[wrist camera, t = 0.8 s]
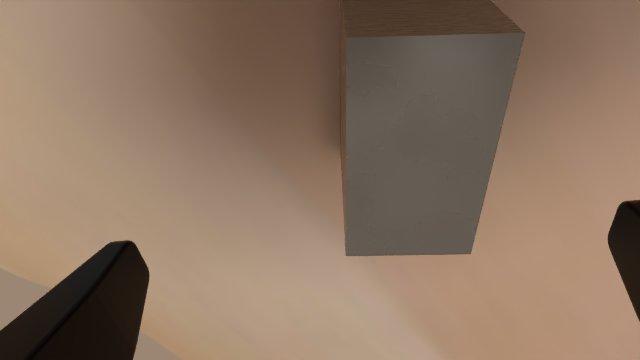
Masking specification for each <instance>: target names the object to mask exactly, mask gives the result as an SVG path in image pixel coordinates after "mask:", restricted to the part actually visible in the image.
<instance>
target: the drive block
mask: <svg viewBox="0 0 640 360" xmlns="http://www.w3.org/2000/svg"><path fill="white" fill-rule="evenodd" d="M524 34H525V32H524V31H523V30H521V29H520V28H519V27H518V26H517V25H516V24H515V23H514V22H513V21H512V20H511V19H510V18H509V17H508V16H506V15H505V14H504V13H503V12H502V11H501V10H500V9H499V8H498V7H497V6H496V5H495V4H494V3H493V2H491V1H490V0H340V146H341V171H342V191H343V211H344V230H345V250H346V256H383V255H446V254H471V251H472V247H473V243H474V239H475V234H476V230H477V226H478V222H479V218H480V214H481V210H482V206H483V202H484V198H485V194H486V189H487V185H488V181H489V177H490V173H491V169H492V165H493V161H494V157H495V153H496V149H497V144H498V140H499V136H500V132H501V128H502V124H503V120H504V116H505V112H506V108H507V103H508V99H509V95H510V91H511V87H512V83H513V79H514V75H515V71H516V67H517V63H518V58H519V54H520V50H521V46H522V42H523V38H524Z"/></svg>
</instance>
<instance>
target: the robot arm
mask: <svg viewBox="0 0 640 360" xmlns="http://www.w3.org/2000/svg"><path fill="white" fill-rule="evenodd" d="M608 245H609V248H610V251H611V253H612V256H613V258H614V261H615V263H616V266H617V268H618V271H619V273H620V275H621V278H622V280H623V283H624V285H625V288H626V290H627V293H628V295H629V297H630V300H631V302H632V305H633V307H634V310H635V312H636V314H637V317H638V319H639V321H640V200H632V201H625V202H622V203H621V204H620V205H619V207H618V209H617V212H616V214H615V217H614V220H613V223H612V225H611V228H610V231H609V234H608ZM148 284H149V270H148V267H147V265H146V263H145V261H144V259H143V257H142V256H141V254H140V252H139V250H138V248H137V246H136V245H135V243H134V242H132V241H129V240H126V241H114V242H110V243H108V244H107V245H106V246H104V247H103V248H102V249H101V250H100V251H98V252H97V253H96V254H95V255H93V256H92V257H91V258H90V259H88V260H87V261H86V262H85V263H83V264H82V265H81V266H80V267H78V268H77V269H76V270H75V271H74V272H72V273H71V274H70V275H69V276H67V277H66V278H65V279H64V280H62V281H61V282H60V283H59V284H57V285H56V286H55V287H54V288H53V289H51V290H50V291H49V292H48V293H46V294H45V295H44V296H43V297H41V298H40V299H39V300H38V301H36V302H35V303H34V304H33V305H32V306H30V307H29V308H28V309H27V310H25V311H24V312H23V313H22V314H20V315H19V316H18V317H17V318H15V319H14V320H13V321H12V322H10V323H9V324H8V325H7V326H5V327H4V328H3V329H2V330H0V360H133V357H134V353H135V349H136V344H137V341H138V335H139V330H140V325H141V320H142V315H143V310H144V304H145V299H146V294H147V289H148Z"/></svg>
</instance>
